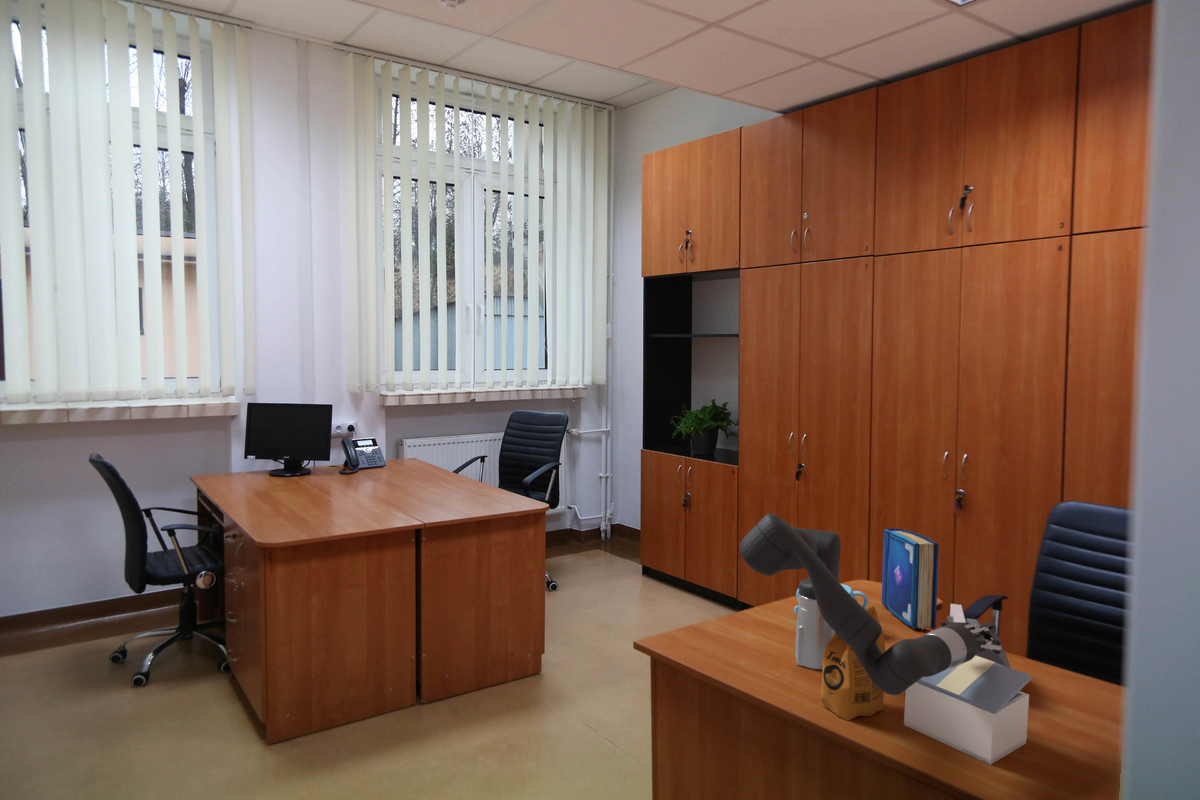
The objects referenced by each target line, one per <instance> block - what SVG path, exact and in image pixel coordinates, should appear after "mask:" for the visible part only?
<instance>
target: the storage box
mask: <svg viewBox="0 0 1200 800" xmlns="http://www.w3.org/2000/svg"><path fill="white" fill-rule="evenodd" d="M904 693H905V695H904V696H905V697H904V699H905V700H904V715H903V716H904V717H903V725H904V726H905V727H907V728H910V729H912V730H915V731H916V732H918V733H920V734H923V735H926V737H929V738H932V739H934V740H936V741H937V742H939V743H940V742H941V743H943V744H944V745H947V746H949V747H951V748H952V749H955V750H957V751H960V752H962V753H964V754H965V755H968V756H971V757H972V758H975V759H977V760H978V761H981V762H984V763H985V764H987V765H989V766H990V765H992V764H994V763H996V762H997V761H999V760H1001V759H1002V758H1004V757H1006V756H1008V755H1009V754H1010V753H1012V752H1014V751H1015V750H1017V749H1019V748H1021V747H1022V746H1024V745H1026V744H1027V735H1028V721H1029V720H1028V719H1029V703H1030V701H1029V700H1030V694H1028V693H1026V692H1022V691H1021V690H1020V691H1019V692H1018V693H1017V694H1016V695H1015V696H1014V697H1013V698H1012V699H1011V700H1010V701H1009V702H1008V703H1007V704H1006V705H1005V706H1004V707H1003V708H1002V709H1001V710H1000V711H999V712H997V713H996V714H995V713H993V712H990V711H988V710H985V709H983V708H980V707H978V706H975V705H973V704H970V703H968V702H965V701H963V700H961V699H958V698H956V697H953V696H951V695H948V694H946V693H943V692H941V691H938V690H936V689H933V688H931V687H928V686H926V685H924V684H921V683H919V682H915V683H914V684H913V685H912V686H910V687H909V688H908V689H906V690H905V692H904Z"/></svg>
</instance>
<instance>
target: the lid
mask: <svg viewBox="0 0 1200 800" xmlns="http://www.w3.org/2000/svg"><path fill="white" fill-rule="evenodd" d="M1032 679H1033V677H1032V675H1031V674H1029V673H1026V672H1023V671H1020V670H1017V669H1014V668H1009V667H1006V666H1003V665H1001V664H998V663H995V662H993V661H990V660H988V659H985V658H982V657H979V656H976V655H975V656H974V658H973V659H971V660H970V661H967V662H965V663H963V664H961V665H959V666H957V667H955V668H952V669H949V670H945V671H942V672H940V673H938V674H936V675H933V676H929V677H922V678H921V679H919V680H918V681H917V682H919V683H921V684H924V685H926V686H928V687H931V688H933V689H936V690H938V691H941V692H943V693H946V694H948V695H951V696H953V697H956V698H958V699H961V700H963V701H965V702H968V703H970V704H973V705H975V706H978V707H980V708H983V709H985V710H988V711H990V712H993V713H995V714H996V713H997V712H999V711H1000V710H1001V709H1002V708H1003V707H1004V706H1005V705H1006V704H1007V703H1008V702H1009V701H1010V700H1011V699H1012V698H1013V697H1014V696H1015V695H1016V694H1017V693H1018V692H1019V691H1020V692H1021V690H1022V689H1023V688H1024V687H1025V686H1026V685H1027V684H1028V683H1030V681H1031V680H1032Z"/></svg>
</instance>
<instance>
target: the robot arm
mask: <svg viewBox="0 0 1200 800" xmlns="http://www.w3.org/2000/svg"><path fill="white" fill-rule="evenodd" d="M738 548H739V554H740V556H741V558H742V560H743V561H744V563H745V564H746V565H747V566H748V567H749V568H751V570H753V571H755V572H757V573H758V574H761V575H763V576H767V577H770V576H774V575H776V574H778V573H779V572H782V571H788V570H801V569H804V568H805V570H806V573H807V575H808V577H807V578H804V579H802V580H801V581H800V582H799V584H798V589H799V598H798V600H797V604H798V609H797V610H798V615H797V619H796V624H795V625H796V626H795V629H796V630H795V652H794V656H795V661H796V665H797V666H801V667H805V668H808V669H812V670H822V666H823V655H824V651H825V648H826V646H827V644H828V642H829V640H830V639H831V638H832V636H833V635H834V633H835V632H836V633H837V634H838V635H839V636H840V637H841V638H842V639H843V640H844V641H845V642H846V643H847V644H848V645H849V646H850V647H851V648H852V650H853V651H854V653H855V655H856V657H857V658H858V660H859V661H860V663H861V664H862V666H863V668H864V669H865V671H866V673H867V674H868V676H869V678H870V679H871V680H872V682H873V683H874V684H875V685H876V686H877V687H878V688H879V689H880V690H882V691H883V692H884V694H888V695H890V696H898V695H901V694H903V693H905V692H906V689H908V688H909V687H910V686H912V685H913V684H914V683H915V682H917V681H918V680H919V679H921V678H922V677H929V676H933V675H936V674H938V673H940V672H942V671H945V670H949V669H952V668H955V667H957V666H959V665H961V664H963V663H965V662H967V661H970V660H971V659H973V658H974V656H975V655H976V654H977V653H978V652H983V651H985V650H986V649H990V650H992V651H993V652H994V653H996V654H1001V647H1002V640H1001V638H1000V637H999V635H998V634H997V626H996V624H994V623H993V622H992V623H991V622H988V621H987V622H985V623H981V625H971V624H970V623H967V622H966V623H965V622H947V621H941V622H940V627H938V628H935V629H933V630H930V631H929V632H927V633H925V635H922V636H919V637H917V638H905V639H901V640H900V641H898V642H895V643H894V644H892V645H891V646H890V647H889V648H887V650H886V649H885V652H884V653H882V652H881V651H880V649H879V647H878V645H877V643H876V641H877V639H878V638H879V636H880V635H881V633H882V632H883V628H882V625H881V624H879V623H880V622H879V623H878V622H877V621H876V619H874V618H873V617H871V615H870V614H869V613H868V612H867V611H866V610H865V609H864V608H863V607H862V606H863V605H861V603H859V602H858V601H856V600H857V599H856V600H855V599H854V598H853V597H852V596H851V595H850V594H849V593H848V592H847V591H846V590H845V589H844V587H843V586H842V585H841V584H842V583H840V582H839V573H840V572H839V571H840V561H841V551H842V542H841V537H840V535H839V533H837V532H834V531H826V530H818V529H812V528H799V527H793V526H791V525H790V524H789V523H788V522H787V521H786V520H785V519H784V518H782V517H780V516H778V515H777V514H775V513H772V512H771V513H766V514H765V516H763V517H762V518H761V519H760V520H759V521H758V522H757V524H756V525H755V526H754V527H753V528H751V530H750V531H748V533H747V534H746V535H745V536H744V537H743V538H742V540H741V541H740V543H739V547H738ZM986 641H989V642H986Z"/></svg>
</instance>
